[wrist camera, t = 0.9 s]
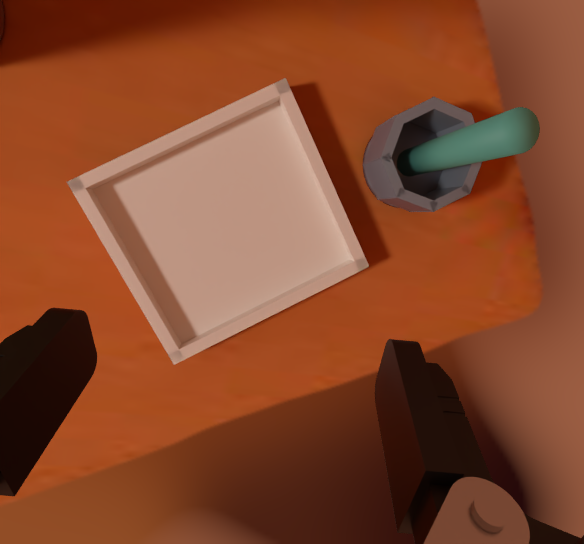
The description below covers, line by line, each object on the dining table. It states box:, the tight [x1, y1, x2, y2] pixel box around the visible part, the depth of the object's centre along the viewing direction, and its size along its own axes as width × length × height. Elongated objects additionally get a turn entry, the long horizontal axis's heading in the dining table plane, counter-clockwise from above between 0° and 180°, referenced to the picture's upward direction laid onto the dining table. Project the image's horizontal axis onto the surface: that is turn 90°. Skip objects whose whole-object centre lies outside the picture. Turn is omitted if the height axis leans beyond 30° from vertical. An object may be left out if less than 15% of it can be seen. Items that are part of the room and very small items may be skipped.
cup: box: [363, 97, 482, 212], centre depth 33 cm, size 8×8×6 cm
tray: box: [67, 78, 369, 365], centre depth 33 cm, size 17×19×2 cm
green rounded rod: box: [397, 107, 540, 176], centre depth 28 cm, size 2×2×14 cm
